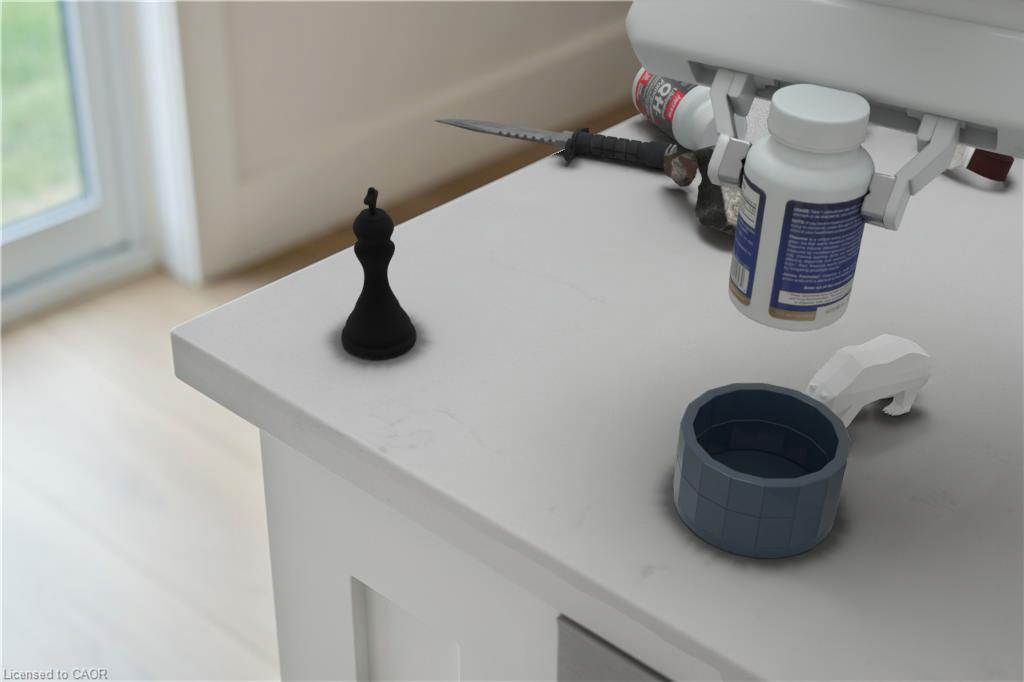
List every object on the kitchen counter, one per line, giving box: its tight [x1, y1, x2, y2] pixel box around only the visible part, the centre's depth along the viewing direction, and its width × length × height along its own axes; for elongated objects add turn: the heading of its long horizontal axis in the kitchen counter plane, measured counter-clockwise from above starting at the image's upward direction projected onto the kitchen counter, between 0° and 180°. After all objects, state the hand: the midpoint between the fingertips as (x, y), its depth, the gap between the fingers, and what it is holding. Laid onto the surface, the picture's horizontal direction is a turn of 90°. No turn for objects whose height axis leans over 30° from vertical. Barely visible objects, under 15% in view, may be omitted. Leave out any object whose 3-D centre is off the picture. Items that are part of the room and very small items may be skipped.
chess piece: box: [340, 186, 417, 360], centre depth 71 cm, size 4×4×10 cm
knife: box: [434, 118, 678, 170], centre depth 95 cm, size 19×2×5 cm
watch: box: [942, 144, 1015, 183], centre depth 94 cm, size 8×5×4 cm
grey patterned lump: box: [663, 143, 754, 236], centre depth 86 cm, size 8×7×12 cm
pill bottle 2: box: [727, 84, 876, 333], centre depth 54 cm, size 5×5×10 cm
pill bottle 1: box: [631, 66, 749, 151], centre depth 96 cm, size 5×5×10 cm
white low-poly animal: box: [804, 333, 932, 428], centre depth 67 cm, size 2×8×5 cm, turn 119°
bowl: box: [672, 382, 852, 559], centre depth 61 cm, size 8×8×4 cm
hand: (800, 203), depth 53 cm, fingers closed on pill bottle 2, 5 cm apart
